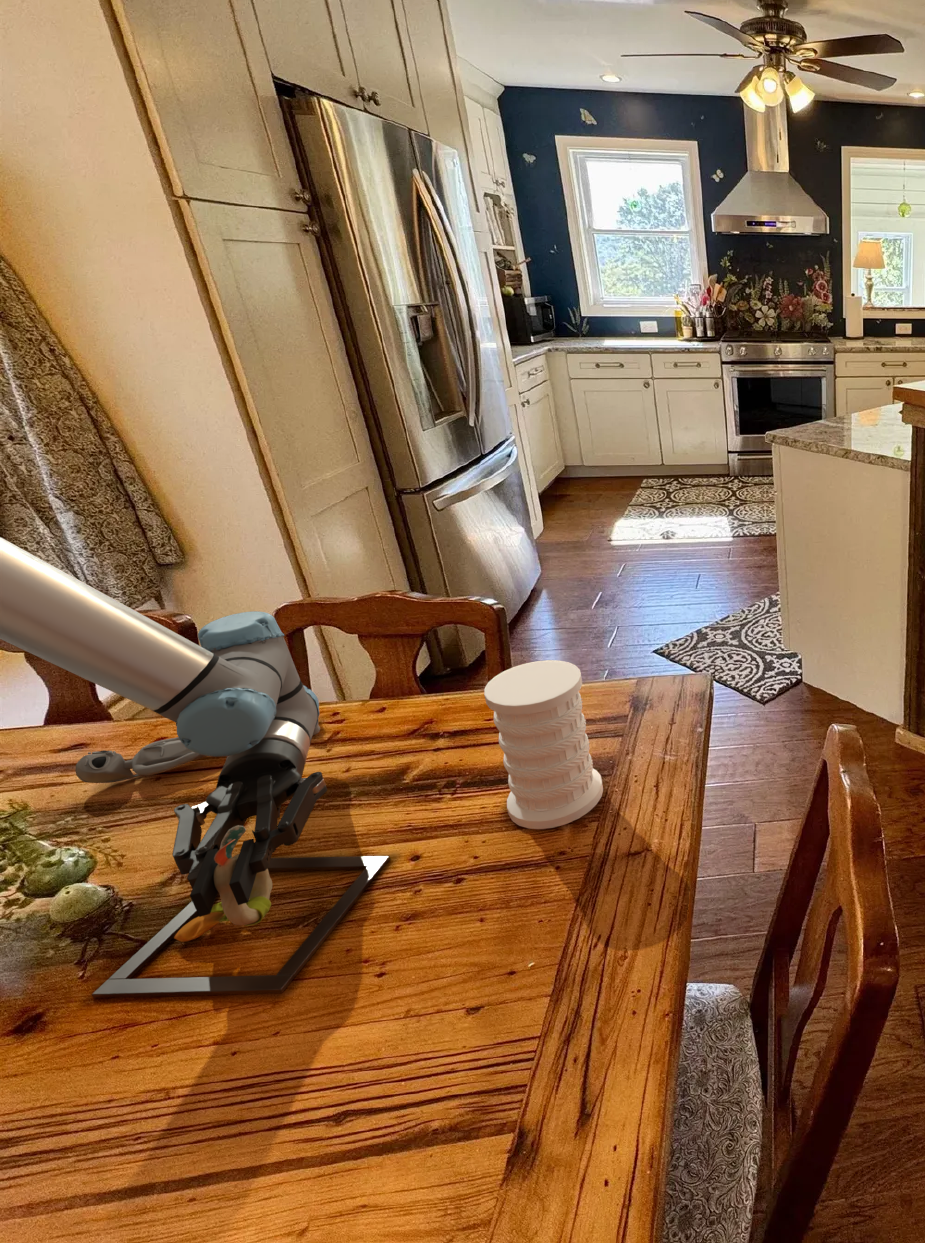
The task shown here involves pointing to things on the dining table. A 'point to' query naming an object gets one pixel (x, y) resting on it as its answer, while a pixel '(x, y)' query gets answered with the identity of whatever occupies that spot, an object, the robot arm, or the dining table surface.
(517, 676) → the decorative container
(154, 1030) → the dining table surface
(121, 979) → the spot frame
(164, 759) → the alien figure
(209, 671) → the robot arm
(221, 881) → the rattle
